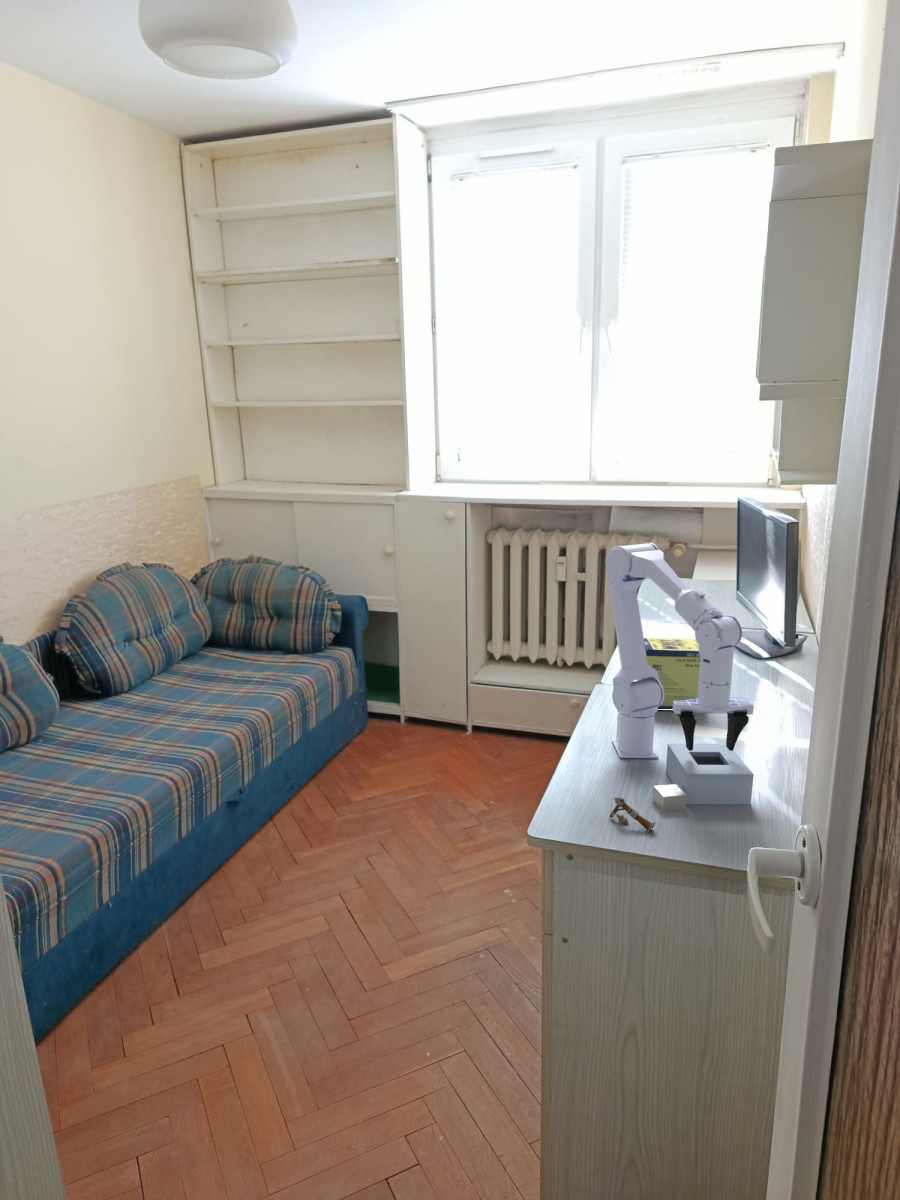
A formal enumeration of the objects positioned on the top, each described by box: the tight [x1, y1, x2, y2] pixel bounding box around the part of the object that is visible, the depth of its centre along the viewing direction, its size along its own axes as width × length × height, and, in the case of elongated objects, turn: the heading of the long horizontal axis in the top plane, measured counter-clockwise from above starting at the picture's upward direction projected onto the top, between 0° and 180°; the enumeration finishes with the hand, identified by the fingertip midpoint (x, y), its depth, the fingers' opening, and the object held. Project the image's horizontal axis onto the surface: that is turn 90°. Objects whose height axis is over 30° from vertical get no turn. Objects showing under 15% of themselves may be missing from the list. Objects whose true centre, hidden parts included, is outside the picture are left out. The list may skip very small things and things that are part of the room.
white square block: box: [652, 783, 687, 811], centre depth 149 cm, size 4×4×3 cm
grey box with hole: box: [665, 743, 755, 806], centre depth 156 cm, size 14×12×6 cm
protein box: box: [636, 637, 701, 709], centre depth 200 cm, size 10×16×16 cm
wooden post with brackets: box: [609, 796, 657, 833], centre depth 142 cm, size 2×8×4 cm, turn 52°
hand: (709, 748), depth 155 cm, fingers open, 7 cm apart
